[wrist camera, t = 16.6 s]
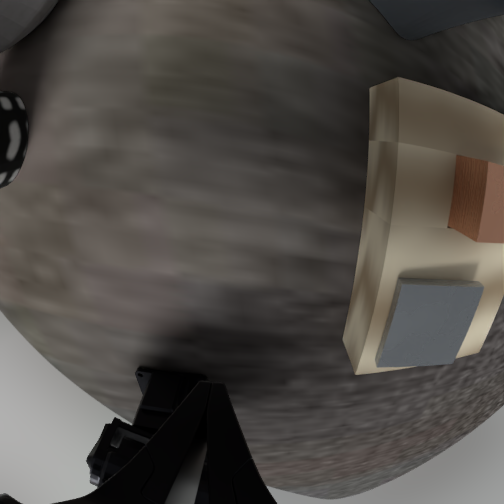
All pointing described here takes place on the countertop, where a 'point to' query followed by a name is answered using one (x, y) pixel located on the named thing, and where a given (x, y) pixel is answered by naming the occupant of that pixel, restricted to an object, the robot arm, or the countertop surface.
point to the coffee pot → (21, 19)
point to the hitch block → (420, 210)
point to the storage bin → (434, 14)
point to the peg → (478, 200)
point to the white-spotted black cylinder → (12, 136)
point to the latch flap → (427, 321)
